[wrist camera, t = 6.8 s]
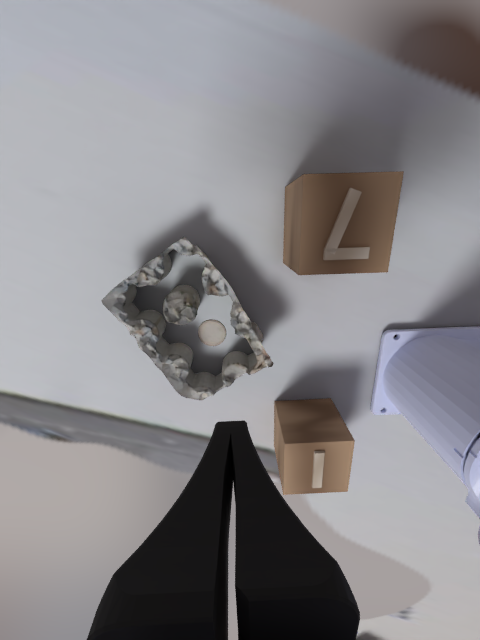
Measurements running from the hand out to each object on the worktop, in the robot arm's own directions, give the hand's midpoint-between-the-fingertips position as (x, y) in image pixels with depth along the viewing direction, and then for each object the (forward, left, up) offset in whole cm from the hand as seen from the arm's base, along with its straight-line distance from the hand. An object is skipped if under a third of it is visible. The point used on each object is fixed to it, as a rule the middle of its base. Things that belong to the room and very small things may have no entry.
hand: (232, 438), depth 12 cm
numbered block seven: (-7, -9, -10) cm, 15 cm away
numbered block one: (-6, +8, -10) cm, 14 cm away
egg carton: (+3, -3, -10) cm, 11 cm away
